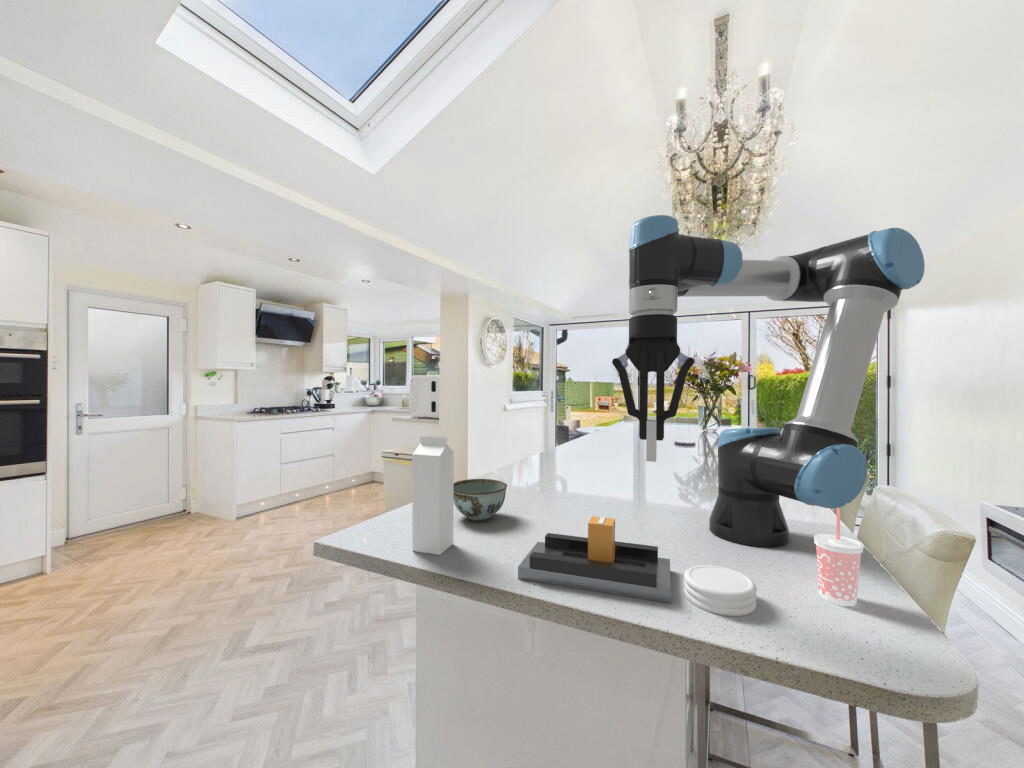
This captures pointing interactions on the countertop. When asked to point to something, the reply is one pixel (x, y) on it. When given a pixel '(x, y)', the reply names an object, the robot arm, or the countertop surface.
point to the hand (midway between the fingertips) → (651, 459)
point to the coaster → (720, 590)
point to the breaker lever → (601, 539)
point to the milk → (432, 496)
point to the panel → (600, 583)
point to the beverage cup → (838, 566)
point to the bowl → (479, 498)
